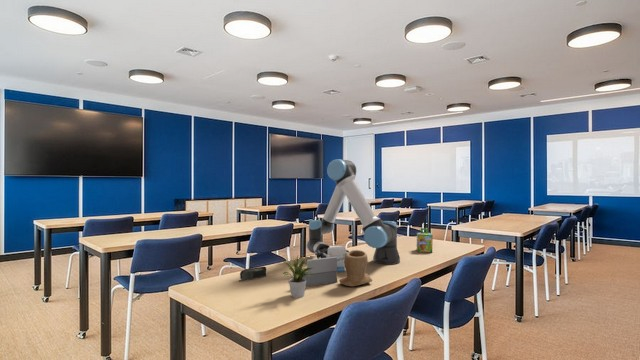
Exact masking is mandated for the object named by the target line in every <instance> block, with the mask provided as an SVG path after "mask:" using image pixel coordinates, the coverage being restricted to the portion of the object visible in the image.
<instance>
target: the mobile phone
mask: <svg viewBox="0 0 640 360" xmlns="http://www.w3.org/2000/svg"><path fill="white" fill-rule="evenodd" d="M264 277H267V267H266V266H257V267H251V268H245V269H243V270H241V271H240V273H239V278H240V279H239V280H238V282H239V283H240V282H244V281H250V280H253V279H255V280H256V279H260V278H264Z"/></svg>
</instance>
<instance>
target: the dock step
mask: <svg viewBox="0 0 640 360" xmlns="http://www.w3.org/2000/svg"><path fill="white" fill-rule="evenodd" d="M311 260H312V261H311ZM309 261H310V262H309ZM308 262H309V263H308ZM307 263H308V264H307ZM306 264H307V265H306ZM306 264H305V265H306V266H305V267H304V265H303V266H302V267H304V268H305V269H306V268H315V269H310V270H307V271H306V272H312V273H313V274H311V273H307V274H310V276H309V275H305V276H304V277H303V278H304V279H306V285H307V287H313V286H318V285H319V286H320V284H321V285H327V284H334V283H338V271H337V257H329V258H319V259H317V258H313V259H306ZM302 269H303V268H302ZM303 270H304V269H303ZM301 271H302V270H301ZM306 272H305V274H306Z"/></svg>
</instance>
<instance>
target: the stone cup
mask: <svg viewBox="0 0 640 360" xmlns="http://www.w3.org/2000/svg"><path fill="white" fill-rule="evenodd" d="M368 261H369V259H368V254H367V253H366V252H365V251H363V250H358V249H355V250H354V249H352V250H350V251H349V252H347V253H346V255H345V261H344V263H345V272H346V276H345V277H342V278H340V279H339V280H338V282H339V283H340V284H341V285H344V286H347V287H356V286H357V287H358V286H360V285H361V286H362V285H364V284H368V283H371V282H373V279H372V278H371V276H370V275H369V274H368V273H366V269H367V266H368Z"/></svg>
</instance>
